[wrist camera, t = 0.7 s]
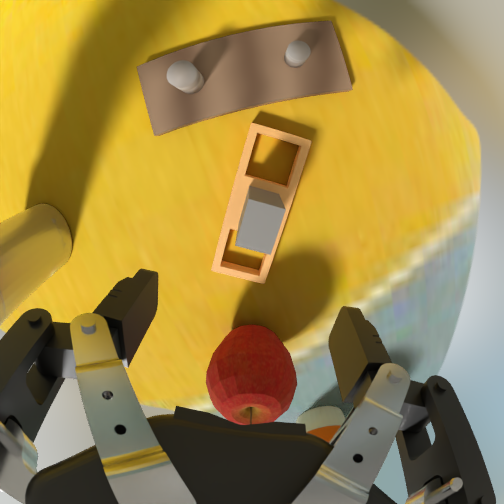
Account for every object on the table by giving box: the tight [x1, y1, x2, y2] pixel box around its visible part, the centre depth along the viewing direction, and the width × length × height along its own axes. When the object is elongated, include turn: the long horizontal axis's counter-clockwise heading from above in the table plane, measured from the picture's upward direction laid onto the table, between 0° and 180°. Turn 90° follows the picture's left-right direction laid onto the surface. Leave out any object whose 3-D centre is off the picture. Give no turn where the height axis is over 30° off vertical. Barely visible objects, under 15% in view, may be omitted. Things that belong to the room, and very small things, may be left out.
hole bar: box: [211, 123, 312, 284], centre depth 26 cm, size 16×6×8 cm, turn 164°
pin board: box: [137, 21, 353, 136], centre depth 21 cm, size 20×8×6 cm, turn 104°
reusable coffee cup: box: [296, 406, 345, 443], centre depth 38 cm, size 13×12×15 cm
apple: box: [206, 324, 297, 425], centre depth 30 cm, size 10×10×14 cm
